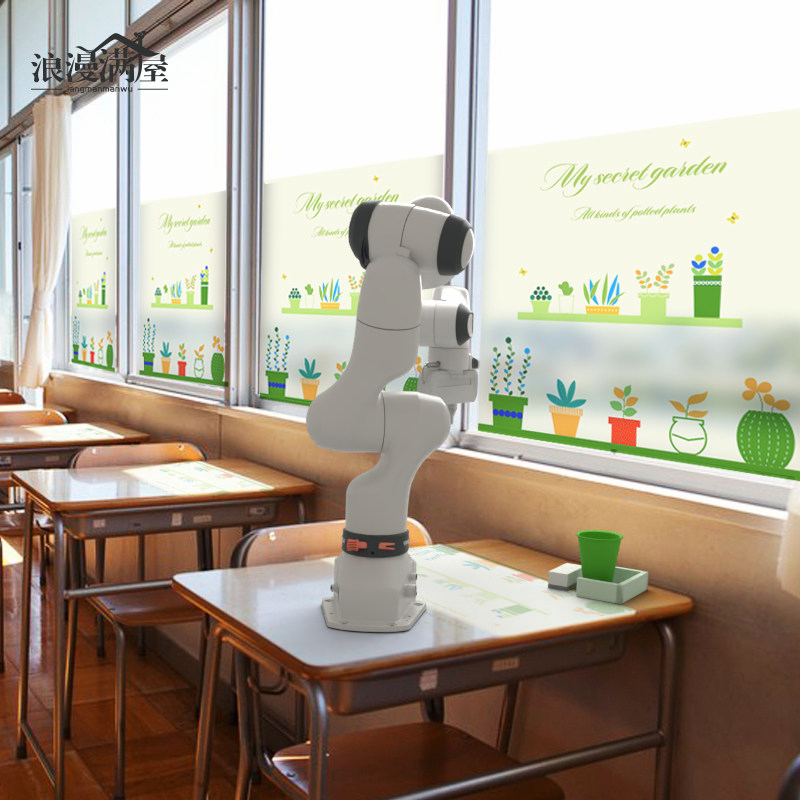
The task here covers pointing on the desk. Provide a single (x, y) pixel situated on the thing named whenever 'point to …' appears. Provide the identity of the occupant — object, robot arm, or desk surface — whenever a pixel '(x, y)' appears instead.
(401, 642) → the desk surface
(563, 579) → the eraser
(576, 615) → the desk surface
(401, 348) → the robot arm
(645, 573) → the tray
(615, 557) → the cup
